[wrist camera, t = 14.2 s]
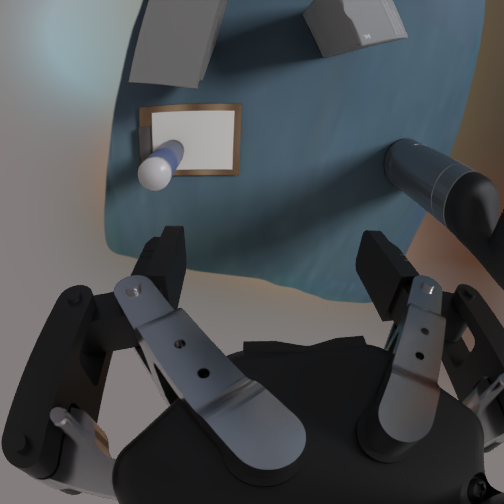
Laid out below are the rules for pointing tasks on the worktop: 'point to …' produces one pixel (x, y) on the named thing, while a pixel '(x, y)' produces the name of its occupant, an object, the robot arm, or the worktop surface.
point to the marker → (161, 165)
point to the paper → (197, 137)
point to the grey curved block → (176, 41)
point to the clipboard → (146, 112)
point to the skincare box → (353, 24)
